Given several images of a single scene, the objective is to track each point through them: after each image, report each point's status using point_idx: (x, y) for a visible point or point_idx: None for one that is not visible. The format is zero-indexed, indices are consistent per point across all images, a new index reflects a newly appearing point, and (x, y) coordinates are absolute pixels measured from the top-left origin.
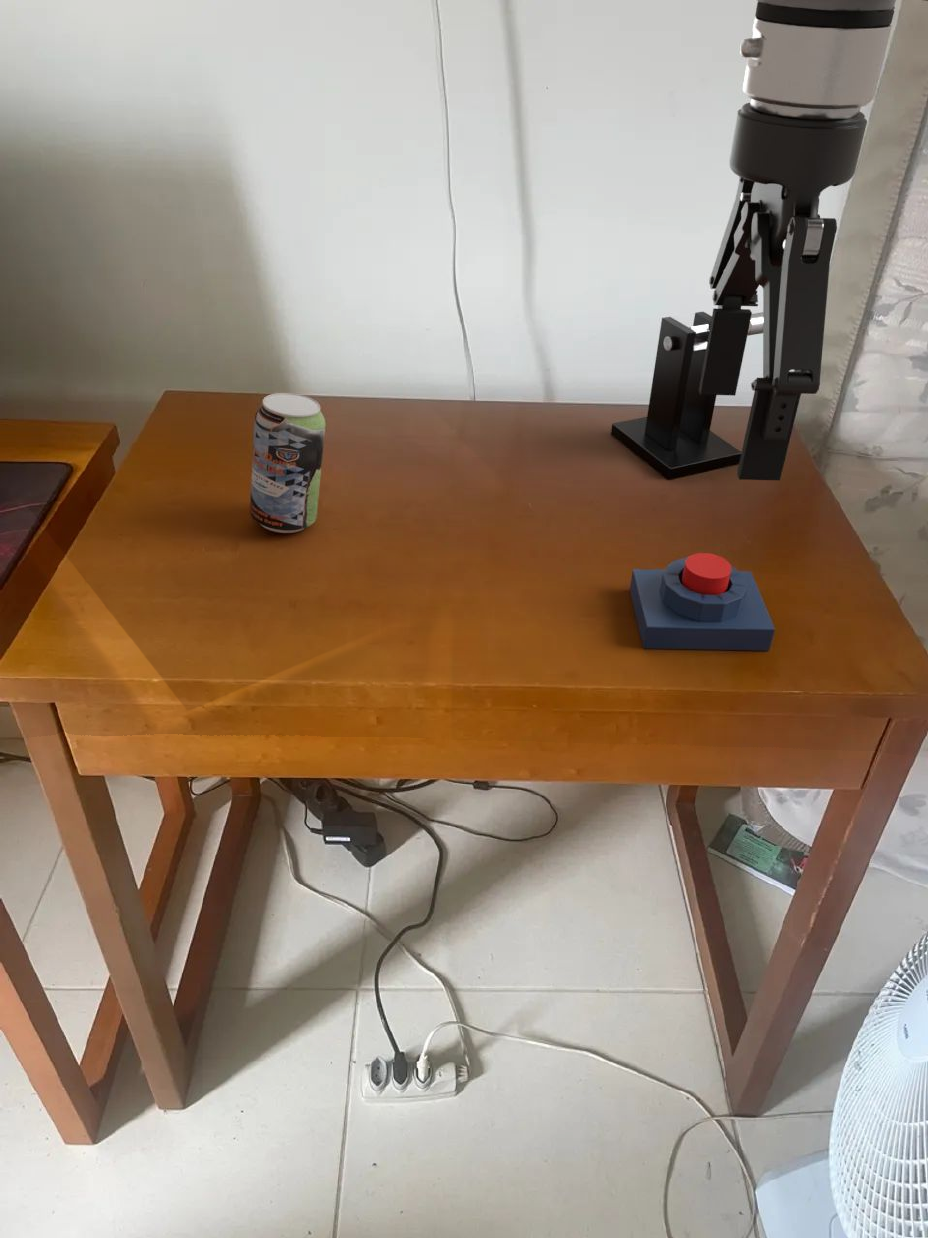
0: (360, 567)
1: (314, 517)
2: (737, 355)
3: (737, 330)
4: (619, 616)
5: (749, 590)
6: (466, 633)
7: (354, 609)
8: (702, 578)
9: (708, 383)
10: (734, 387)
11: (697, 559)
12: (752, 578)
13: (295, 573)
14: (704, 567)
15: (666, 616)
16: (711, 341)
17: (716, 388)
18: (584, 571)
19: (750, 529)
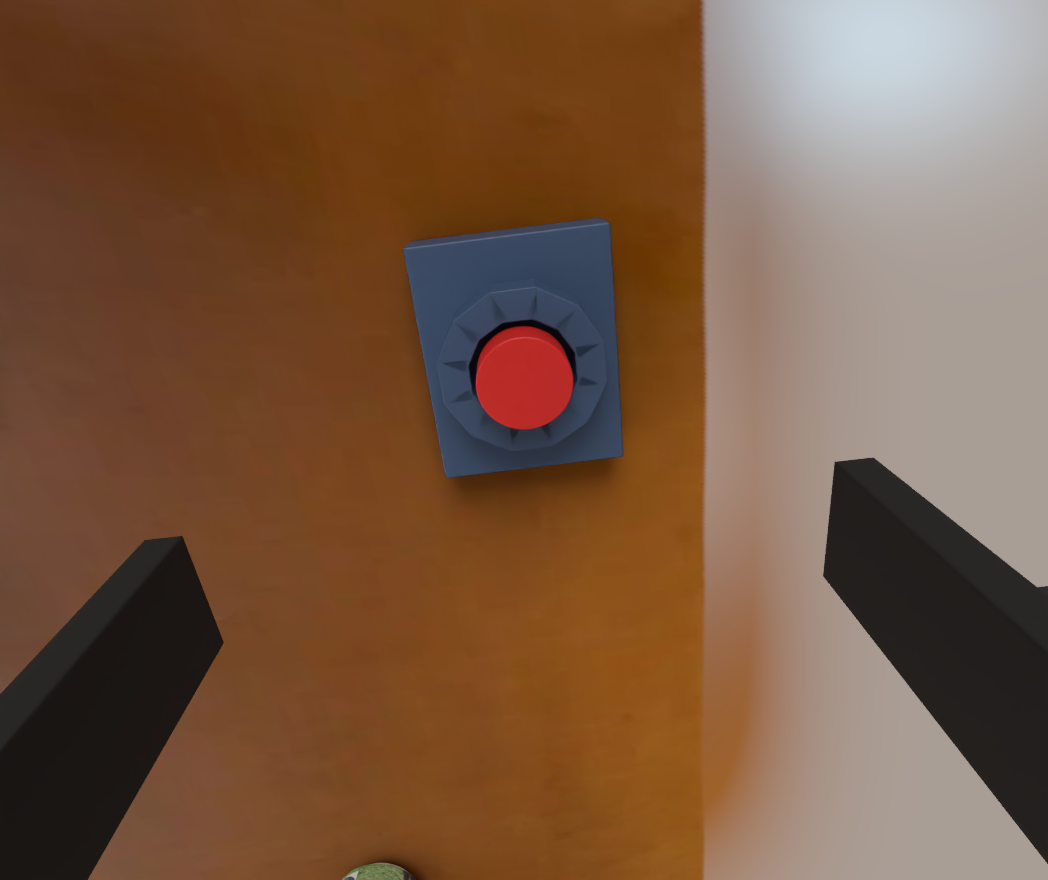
0: (467, 793)
1: (384, 872)
2: (93, 673)
3: (17, 808)
4: (529, 472)
5: (479, 260)
6: (601, 663)
7: (564, 781)
8: (570, 397)
9: (198, 657)
10: (169, 562)
11: (506, 405)
12: (432, 248)
13: (496, 847)
14: (533, 392)
15: (589, 425)
16: (110, 832)
17: (197, 617)
18: (406, 527)
19: (140, 200)
